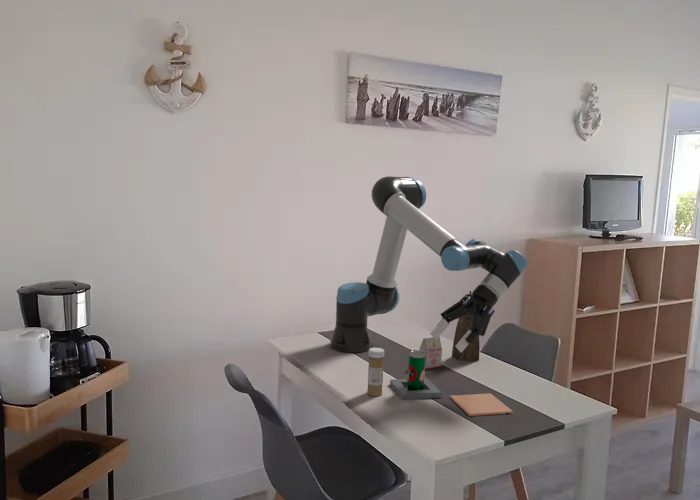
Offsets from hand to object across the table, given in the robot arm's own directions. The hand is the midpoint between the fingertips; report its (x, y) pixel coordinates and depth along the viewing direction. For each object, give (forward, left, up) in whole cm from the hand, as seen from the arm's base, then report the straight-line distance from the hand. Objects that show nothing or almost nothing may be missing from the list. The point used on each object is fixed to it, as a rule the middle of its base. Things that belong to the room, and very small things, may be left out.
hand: (445, 343), depth 173 cm
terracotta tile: (+14, +6, -14) cm, 21 cm away
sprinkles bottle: (+2, -22, -14) cm, 26 cm away
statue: (-26, +20, -14) cm, 36 cm away
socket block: (+1, -9, -14) cm, 17 cm away
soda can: (+1, -9, -14) cm, 17 cm away
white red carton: (-20, +4, -14) cm, 25 cm away
